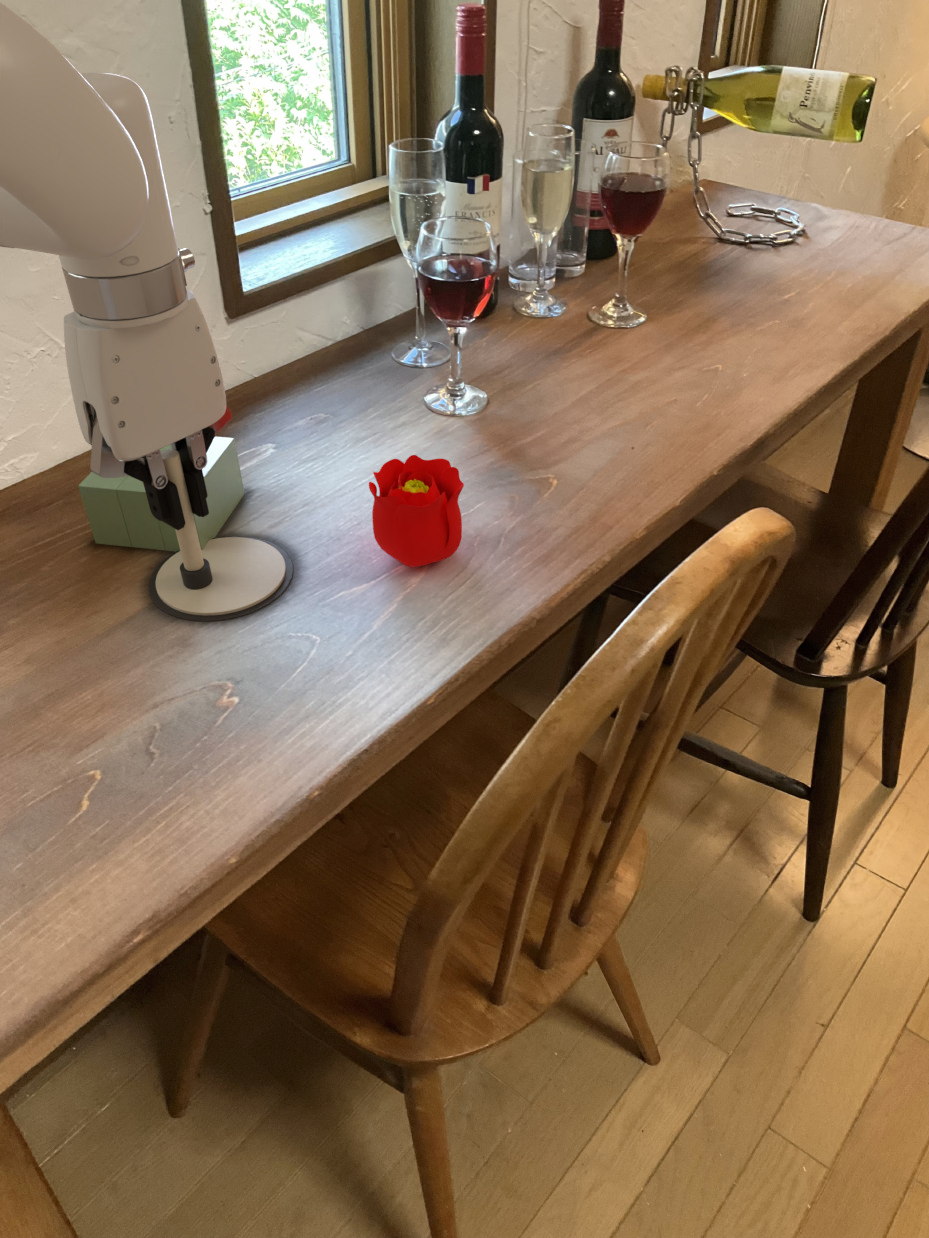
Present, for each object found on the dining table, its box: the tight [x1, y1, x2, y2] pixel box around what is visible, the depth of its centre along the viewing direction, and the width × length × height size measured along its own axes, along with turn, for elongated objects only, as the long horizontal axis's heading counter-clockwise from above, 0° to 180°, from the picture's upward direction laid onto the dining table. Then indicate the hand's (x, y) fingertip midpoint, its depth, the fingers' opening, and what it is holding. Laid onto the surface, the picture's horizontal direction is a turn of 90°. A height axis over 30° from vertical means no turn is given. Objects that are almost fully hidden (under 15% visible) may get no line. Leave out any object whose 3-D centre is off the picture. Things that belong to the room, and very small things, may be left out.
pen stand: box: [77, 436, 246, 553], centre depth 87 cm, size 10×10×6 cm
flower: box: [368, 454, 465, 568], centre depth 81 cm, size 8×8×8 cm
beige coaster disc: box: [148, 535, 294, 623], centre depth 81 cm, size 12×12×1 cm
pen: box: [161, 449, 213, 590], centre depth 76 cm, size 2×2×12 cm
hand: (182, 515), depth 76 cm, fingers closed on pen, 1 cm apart
